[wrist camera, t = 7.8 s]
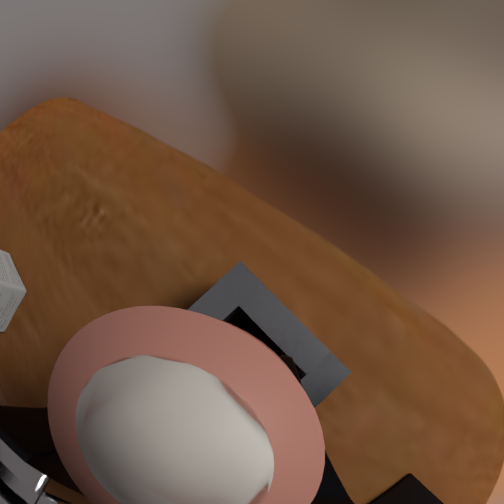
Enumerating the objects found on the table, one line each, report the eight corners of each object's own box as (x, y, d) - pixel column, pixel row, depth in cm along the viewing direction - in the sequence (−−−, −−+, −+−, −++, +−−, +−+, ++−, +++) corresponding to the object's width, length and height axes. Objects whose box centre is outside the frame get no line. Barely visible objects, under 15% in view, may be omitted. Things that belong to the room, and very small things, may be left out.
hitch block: (331, 363, 16) (351, 372, 12) (241, 441, 15) (234, 470, 11) (247, 278, 18) (240, 260, 14) (161, 356, 17) (131, 361, 13)
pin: (292, 385, 15) (360, 513, 2) (221, 411, 15) (122, 550, 2) (262, 316, 16) (249, 255, 4) (192, 344, 16) (21, 348, 3)
